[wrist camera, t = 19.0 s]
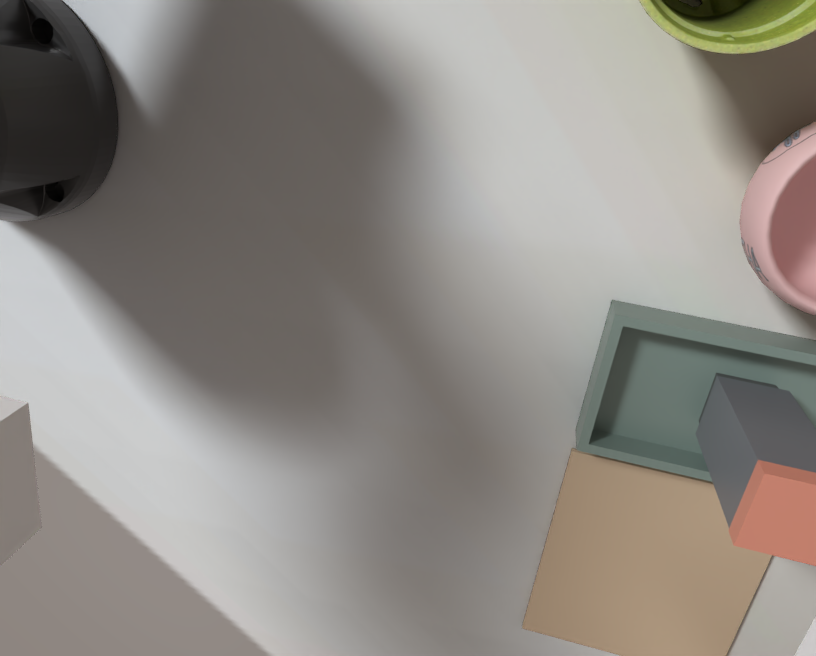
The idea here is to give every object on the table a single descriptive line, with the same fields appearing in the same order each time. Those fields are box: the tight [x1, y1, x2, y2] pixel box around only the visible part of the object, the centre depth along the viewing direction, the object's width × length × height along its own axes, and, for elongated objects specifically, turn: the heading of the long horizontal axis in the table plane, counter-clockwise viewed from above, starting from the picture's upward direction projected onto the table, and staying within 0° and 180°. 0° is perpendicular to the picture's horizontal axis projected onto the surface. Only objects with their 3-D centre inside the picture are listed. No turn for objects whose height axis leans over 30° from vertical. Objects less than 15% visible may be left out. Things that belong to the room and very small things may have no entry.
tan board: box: [522, 448, 772, 656], centre depth 46 cm, size 14×16×1 cm
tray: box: [576, 300, 816, 482], centre depth 39 cm, size 17×9×2 cm, turn 82°
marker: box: [696, 373, 816, 566], centre depth 35 cm, size 4×4×11 cm
